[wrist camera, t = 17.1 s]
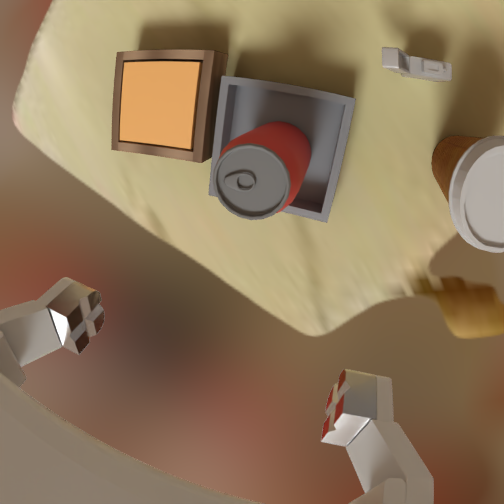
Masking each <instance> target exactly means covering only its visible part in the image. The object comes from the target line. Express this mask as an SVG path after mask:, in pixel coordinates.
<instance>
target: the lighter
mask: <svg viewBox="0 0 504 504" xmlns="http://www.w3.org/2000/svg"><path fill="white" fill-rule="evenodd" d="M382 65H383V68H386V69H388V70H391V71H393V72H396V73H401V76H402V77H410V78H417V79H423V80H429V81H435V82H441V81H451V80H452V66H451V64H450V63H447V62H442V61H437V60H432V59H426V58H420V57H414V56H410V57H409V55H408V54H406V53H405V52H403V51H402V50H400V49H399V48H389V47H382Z"/></svg>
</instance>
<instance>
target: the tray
mask: <svg viewBox="0 0 504 504" xmlns="http://www.w3.org/2000/svg"><path fill="white" fill-rule="evenodd" d="M355 100H356V99H355V98H351V97H347V96H343V95H338V94H334V93H330V92H325V91H320V90H316V89H311V88H306V87H300V86H295V85H289V84H283V83H277V82H271V81H264V80H256V79H249V78H240V77H231V76H222V78H221V85H220V93H219V101H218V109H217V117H216V126H215V135H214V144H213V153H212V163H211V173H210V184H209V195H211V196H216V197H217V195H216V193H215V190H214V185H213V172H214V168H215V166H216V163H217V161H218V159H219V157H220V154H221V152H222V150H223V149H224V148H225V147H226V146H227V145H228V144H229V142H230V141H231V140H233V139H235V138H237V137H238V136H240V135H242V134H245V133H247V132H249V131H251V130H253V129H255V128H258V127H260V126H262V125H264V124H267V123H269V122H276V121H281V122H286V123H290V124H292V125H294V126H296V127H297V128H299V129H300V130H301V131H302V132H303V133H304V134H305V135H306V137H307V139H308V141H309V144H310V147H311V159H310V164H309V167H308V170H307V172H306V175H305V177H304V180H303V182H302V185H301V187H300V190H299V192H298V193H297V195H296V197H295V198H294V200H293V202H292V203H290V204H289V205H288V206H287V207H286V208H284V209H283V210H282V212H286V213H290V214H294V215H298V216H302V217H306V218H310V219H314V220H318V221H322V222H326V223H327V221H328V217H329V213H330V209H331V206H332V202H333V198H334V194H335V190H336V186H337V181H338V177H339V173H340V169H341V165H342V160H343V156H344V152H345V147H346V143H347V138H348V134H349V129H350V124H351V119H352V115H353V110H354V105H355Z"/></svg>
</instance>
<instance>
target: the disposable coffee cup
mask: <svg viewBox="0 0 504 504" xmlns="http://www.w3.org/2000/svg"><path fill="white" fill-rule="evenodd" d="M432 171H433V174H434V177H435V179H436V180H437V182H438V184H439V186H440V188H441V190H442V192H443V194H444V196H445V198H446V199H447V201H448V203H449V209H450V214H451V217H452V220H453V223H454V226H455V228H456V229H457V231H458V232H459V234H460V235H461V236H462V238H463V239H464V240H465V241H466V242H468V243H469V244H471V245H472V246H474V247H476V248H479V249H481V250H486V251H489V252H498V253H499V252H504V136H489V137H486V138H477V137H466V136H450V137H447V138H445V139H443V140H442V141H441V142H440V143H439V144H438V145H437V147H436V148H435V150H434V153H433V156H432Z"/></svg>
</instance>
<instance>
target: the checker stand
mask: <svg viewBox="0 0 504 504" xmlns="http://www.w3.org/2000/svg"><path fill="white" fill-rule="evenodd" d="M227 59H228V54H225V53H221V52H218V51H214V50H141V51H126V52H117V56H116V67H115V78H114V92H113V110H112V150H117V151H125V152H133V153H140V154H147V155H154V156H161V157H168V158H174V159H180V160H186V161H192V162H198V163H202V162H204V161H206V160H208V159H209V158H211V157H212V153H213V144H214V135H215V126H216V117H217V109H218V101H219V93H220V85H221V78H222V76H225V73H226V66H227ZM155 61H173V62H201V63H203V66H202V74H201V82H200V90H199V99H198V108H197V118H196V128H195V138H194V148H192V149H186V148H179V147H172V146H165V145H157V144H149V143H141V142H132V141H123V140H120V115H121V97H122V83H123V71H124V63H125V62H155Z"/></svg>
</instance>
